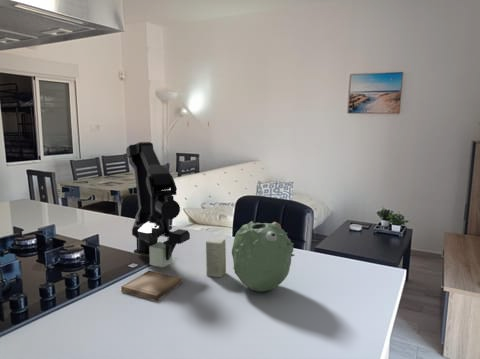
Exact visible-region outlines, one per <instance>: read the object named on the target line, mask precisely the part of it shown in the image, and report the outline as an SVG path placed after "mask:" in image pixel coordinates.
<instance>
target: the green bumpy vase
mask: <svg viewBox="0 0 480 359" xmlns="http://www.w3.org/2000/svg"><path fill="white" fill-rule="evenodd" d="M287 234H288V232H286V231H285V230H284V229H282V226H281V224H280V223H279V222H276V221H273V222H272V223H267V222H264V223H261V222H256V223H255V222H254V221H253V220H251V221H249V222H248V223H246V224H243V225H242V226H241V227H239V230H237V231H236V233H235V235H234V238H233V243H232V249H231V256H232V260H233V261H232V262H233V270H234V274H235V275H236V276H237V277H238V278H239V281H240V282H241V284H243V285H244V286H246V287H248V289H249V290H252V291H255V292H261V293H262V292H263V293H264V292H269V291H272V290H274V289H275V288H277V287H278V286H279V285H281V284H282V283H283V282H284V281H285V279H286V278H287V277H288V275H289V273H290V268H291V265H292V257H295V256H296V255H295V254H293V252H294V243H293V242H291V241H292V240H291V238H289V237H288V235H287Z"/></svg>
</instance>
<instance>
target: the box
mask: <svg viewBox="0 0 480 359" xmlns="http://www.w3.org/2000/svg"><path fill="white" fill-rule="evenodd" d="M226 251H227V247H226V239H225V238H216V237H211V238H209V239H208V240H206V241H205V255H206V256H205V257H206V263H205V264H206V276H207V277H214V278H215V277H216V278H222V277H223V276H224V275H225V274H226V272H227V262H226V260H227V258H226V256H227V255H226V253H227V252H226Z"/></svg>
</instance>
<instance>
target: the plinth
mask: <svg viewBox="0 0 480 359" xmlns="http://www.w3.org/2000/svg"><path fill="white" fill-rule="evenodd" d="M182 283H183V278H182V277H180V276H179V277H178V276H175V275H169V274H167V273H166V274H165V273H161V272H157V271H153V270H148V271H146V272H144V273H142V274H140V275H138V276H136V277H135V278H133V279H132V280H129V281H127V282H126V283H124V284H123V285H122V286H121V287H120V288H121V290H120V291H121V292H122V293H126V294H130V295H133V296H138V297H140V298H145V299H149V300H151V301H155V302H157V301H159V300H160V299H161V298H163V297H164V296H166V295H167V294H168V293H170V292H171V291H173V290H174V289H176V287H178V286H180V285H181V284H182Z"/></svg>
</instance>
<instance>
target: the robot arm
mask: <svg viewBox="0 0 480 359" xmlns="http://www.w3.org/2000/svg"><path fill="white" fill-rule="evenodd" d="M125 153H126V158H127V159H128V164H129V165H130V166H131V168H133V169H134V170H133V171H134V176H135V177H134V178H135V184H136V185H135V186H136V193H137V202H138V203H137V204H138V210H137V212H136V215H135V219H134V220H135V221H134V223H133V226H132V228H131V236H133V237H134V238H136V249H134V250H133V253H137V254H141V255H147V256H148V255H149V256H150V249H149V247H150V246H152V245H154V244H156V243H158V242H159V238H160V237H164V238H167V239H166V240H165V241H163V242H162V243H164V244H165V245H166V260H167V261H168V260H169V259H170V257H171V254H172V255H173V252H174V249H175V248H176V245H179V244H180V245H181V244H183V243H185V242H186V241H188V240H190V239H191V234H190V231H189V230H187V229H181V228H178V229H175V230H174V231H171V230H172V229H173V225H170V223H171V222H170V220H174V219H176V218H177V217H178V215H179V214H180V213H181V212H180V211H181V207H180V204H179V203H178V202H177V201H176V200H175V198H174V196H177V190H178V188H177V185H176V182H175V180H174V177H173V174H171V172H170V171H169V169H168V168H166V167H165V166H162V164H161V163H160V161H159V159H158V156H157V154H156V152H155V150H154V144H153V142H150V141H141V142H140V141H139V142H137V143H134V144H129V146H127V147H126V152H125Z"/></svg>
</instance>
